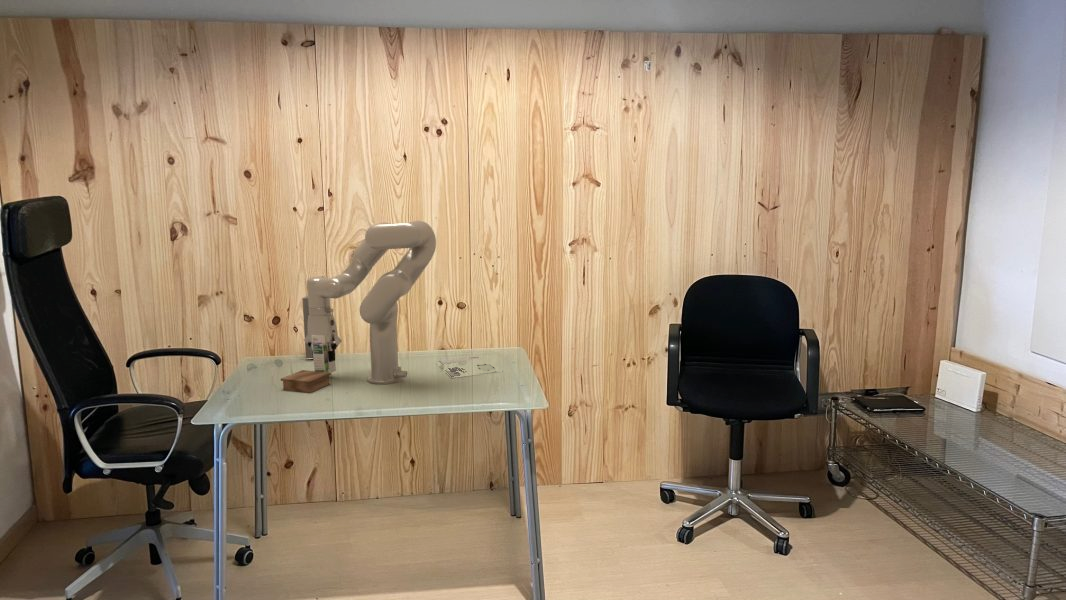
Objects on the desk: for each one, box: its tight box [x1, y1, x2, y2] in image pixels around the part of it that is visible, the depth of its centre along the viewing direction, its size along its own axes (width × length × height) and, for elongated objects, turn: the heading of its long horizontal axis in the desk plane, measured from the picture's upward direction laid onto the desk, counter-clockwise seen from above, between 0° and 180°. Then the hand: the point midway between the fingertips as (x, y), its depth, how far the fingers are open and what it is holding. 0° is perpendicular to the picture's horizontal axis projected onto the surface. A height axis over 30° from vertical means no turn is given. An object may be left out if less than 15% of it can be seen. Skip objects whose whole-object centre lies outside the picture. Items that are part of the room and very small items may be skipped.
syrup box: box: [311, 335, 337, 374], centre depth 278 cm, size 6×6×14 cm
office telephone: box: [438, 356, 481, 377], centre depth 292 cm, size 23×3×20 cm
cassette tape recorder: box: [302, 294, 313, 359], centre depth 311 cm, size 14×6×25 cm, turn 0°
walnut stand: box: [280, 369, 332, 393], centre depth 268 cm, size 12×12×4 cm
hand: (324, 360), depth 279 cm, fingers closed on syrup box, 5 cm apart
